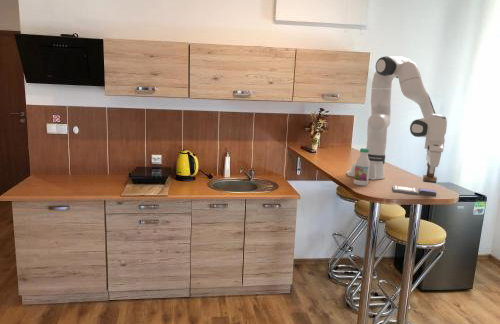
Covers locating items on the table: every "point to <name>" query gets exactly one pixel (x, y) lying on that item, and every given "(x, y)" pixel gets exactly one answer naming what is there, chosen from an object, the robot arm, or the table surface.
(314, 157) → the table surface
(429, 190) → the ink pad
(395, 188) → the board
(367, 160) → the milk bottle
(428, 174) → the stamp
